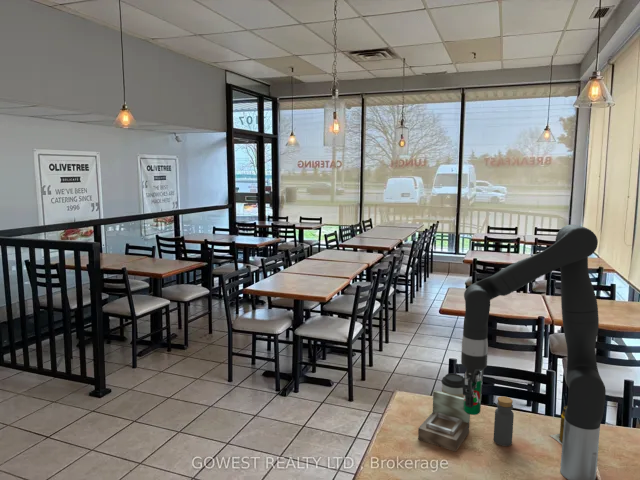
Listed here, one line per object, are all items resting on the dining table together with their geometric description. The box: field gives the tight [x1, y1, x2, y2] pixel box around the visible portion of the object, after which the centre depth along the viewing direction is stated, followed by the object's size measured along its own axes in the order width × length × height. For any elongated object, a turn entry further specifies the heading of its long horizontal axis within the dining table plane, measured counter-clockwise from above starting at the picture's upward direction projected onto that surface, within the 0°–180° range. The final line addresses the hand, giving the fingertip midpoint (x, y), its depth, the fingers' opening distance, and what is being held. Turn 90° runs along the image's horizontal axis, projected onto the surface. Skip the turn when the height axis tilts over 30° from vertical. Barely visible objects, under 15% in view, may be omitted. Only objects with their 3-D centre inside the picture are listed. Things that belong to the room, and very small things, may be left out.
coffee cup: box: [440, 373, 464, 398], centre depth 176 cm, size 9×9×15 cm
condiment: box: [549, 405, 567, 445], centre depth 159 cm, size 7×8×12 cm
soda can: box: [463, 376, 483, 416], centre depth 145 cm, size 5×5×12 cm
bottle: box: [493, 395, 515, 447], centre depth 158 cm, size 6×6×15 cm
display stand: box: [417, 390, 471, 452], centre depth 161 cm, size 13×14×12 cm
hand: (472, 402), depth 146 cm, fingers closed on soda can, 5 cm apart
